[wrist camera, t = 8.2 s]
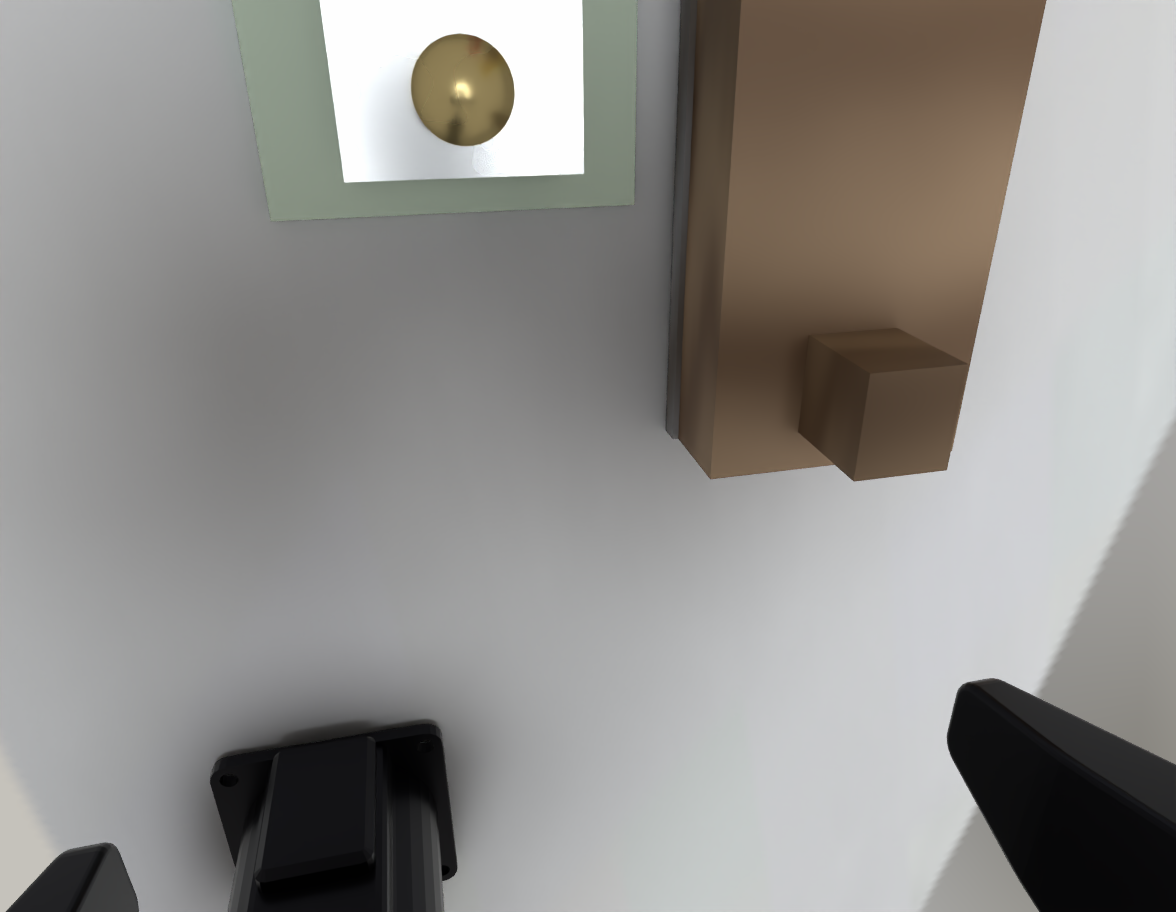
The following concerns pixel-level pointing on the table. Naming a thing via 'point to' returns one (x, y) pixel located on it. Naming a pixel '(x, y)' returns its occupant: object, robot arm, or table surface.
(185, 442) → the table surface
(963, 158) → the plane body
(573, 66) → the white block brass knob
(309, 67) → the felt pad
